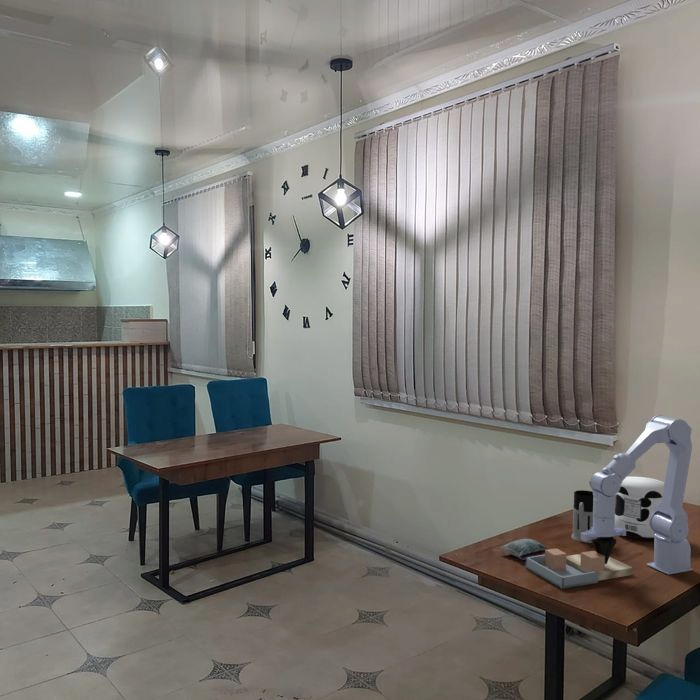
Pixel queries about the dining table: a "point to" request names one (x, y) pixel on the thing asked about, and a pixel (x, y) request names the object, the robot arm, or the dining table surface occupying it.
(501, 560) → the dining table surface
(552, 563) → the wooden cube
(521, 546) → the grey green pillow
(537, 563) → the tray
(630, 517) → the milk container
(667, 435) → the robot arm
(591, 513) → the glass holder
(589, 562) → the wooden cube
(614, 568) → the board
